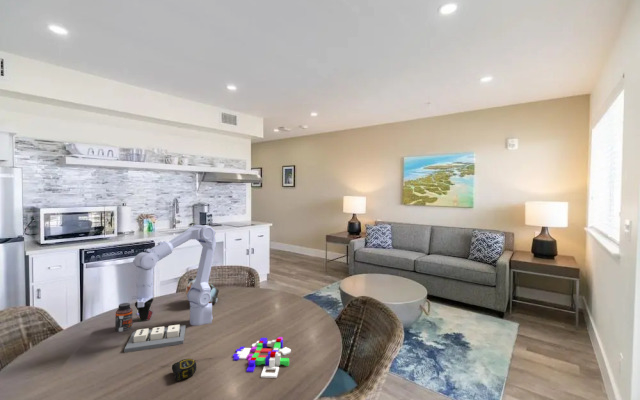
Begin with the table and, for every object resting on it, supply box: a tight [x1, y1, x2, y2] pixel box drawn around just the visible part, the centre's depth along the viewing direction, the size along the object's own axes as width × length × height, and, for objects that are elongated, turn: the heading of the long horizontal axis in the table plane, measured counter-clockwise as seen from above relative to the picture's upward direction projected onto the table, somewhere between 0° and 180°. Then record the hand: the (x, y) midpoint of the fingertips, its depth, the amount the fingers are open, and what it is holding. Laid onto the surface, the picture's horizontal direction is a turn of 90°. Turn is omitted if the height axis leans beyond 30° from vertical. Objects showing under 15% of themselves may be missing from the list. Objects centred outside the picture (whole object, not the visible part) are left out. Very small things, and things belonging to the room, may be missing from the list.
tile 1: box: [150, 326, 166, 341], centre depth 115 cm, size 4×6×4 cm, turn 21°
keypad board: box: [123, 324, 186, 353], centre depth 115 cm, size 19×14×2 cm
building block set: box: [232, 336, 292, 379], centre depth 107 cm, size 25×20×4 cm
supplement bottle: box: [114, 302, 133, 333], centre depth 123 cm, size 6×6×11 cm
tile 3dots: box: [134, 327, 150, 343], centre depth 113 cm, size 4×6×4 cm, turn 21°
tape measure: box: [171, 358, 197, 382], centre depth 95 cm, size 7×7×4 cm
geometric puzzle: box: [135, 306, 154, 322], centre depth 135 cm, size 7×7×8 cm
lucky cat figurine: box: [185, 277, 220, 306], centre depth 157 cm, size 17×14×16 cm
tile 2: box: [166, 323, 181, 339], centre depth 117 cm, size 4×6×4 cm, turn 21°
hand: (143, 319), depth 113 cm, fingers closed
